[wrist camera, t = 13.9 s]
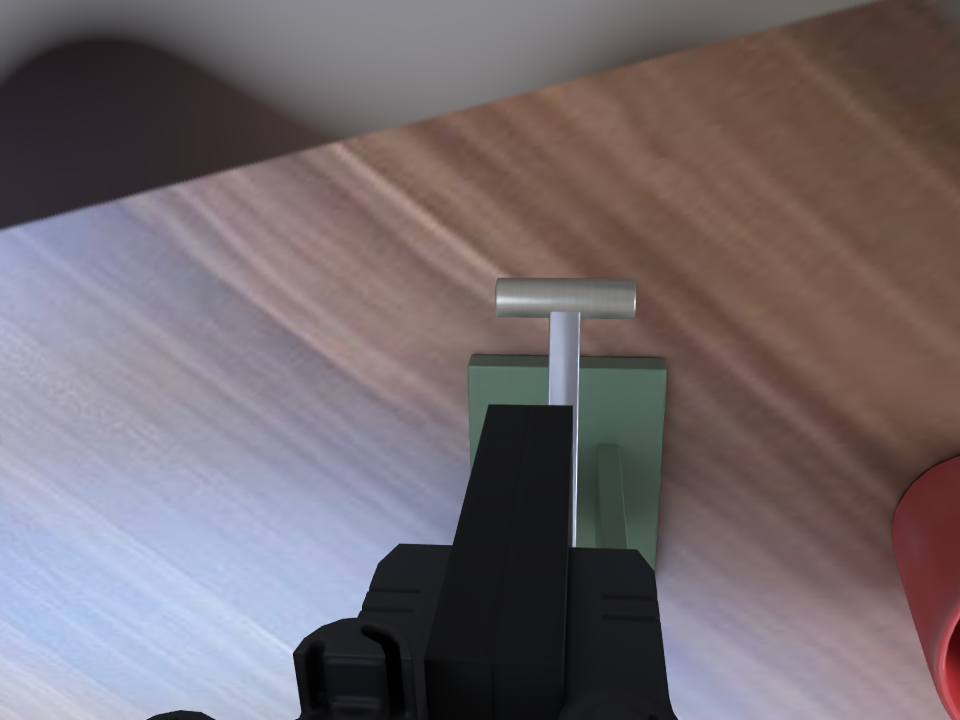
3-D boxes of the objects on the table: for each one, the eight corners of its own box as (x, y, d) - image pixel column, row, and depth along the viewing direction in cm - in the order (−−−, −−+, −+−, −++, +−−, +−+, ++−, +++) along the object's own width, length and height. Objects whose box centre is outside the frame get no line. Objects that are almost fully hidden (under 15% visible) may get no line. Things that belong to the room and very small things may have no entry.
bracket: (471, 353, 41) (421, 505, 28) (664, 357, 40) (703, 516, 27) (477, 567, 45) (436, 782, 32) (651, 575, 44) (680, 800, 31)
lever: (500, 280, 33) (494, 274, 30) (633, 281, 32) (638, 276, 30) (493, 650, 33) (486, 674, 31) (625, 658, 32) (629, 682, 30)
